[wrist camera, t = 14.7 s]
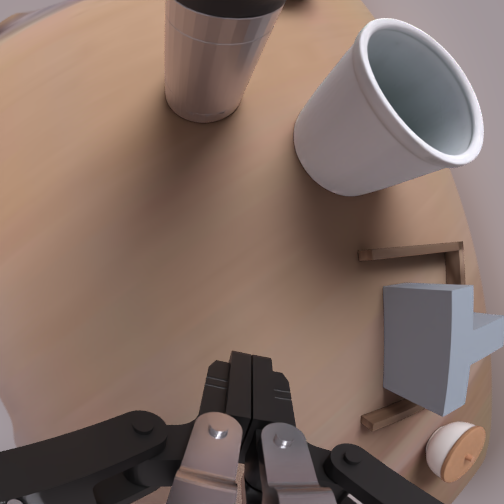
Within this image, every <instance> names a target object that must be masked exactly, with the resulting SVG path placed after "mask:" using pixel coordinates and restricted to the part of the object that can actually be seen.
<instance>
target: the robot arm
mask: <svg viewBox="0 0 504 504" xmlns="http://www.w3.org/2000/svg"><path fill="white" fill-rule="evenodd" d="M285 2H286V0H166V3H165V96H166V100H167V102H168V104H169V106H170V108H171V109H172V110H173V111H174V112H175V113H176V114H178V115H179V116H180V117H182V118H184V119H187V120H189V121H193V122H200V123H208V122H215V121H218V120H221V119H223V118H225V117H227V116H229V115H230V114H231V113H232V112H234V111H235V109H236V108H237V107H238V105H239V103H240V101H241V98H242V96H243V94H244V91H245V89H246V87H247V85H248V82H249V80H250V78H251V76H252V73H253V71H254V69H255V66H256V64H257V62H258V60H259V57H260V55H261V53H262V51H263V49H264V46H265V44H266V42H267V40H268V38H269V36H270V34H271V31H272V29H273V27H274V25H275V23H276V20H277V18H278V16H279V14H280V12H281V10H282V8H283V6H284V4H285ZM238 463H243V464H245V471H244V474H243V476H242V478H241V493H242V504H357V503H356V502H355V501H353V500H352V499H351V498H350V497H348V495H349V494H351V495H352V496H353V497H354V498H356V499H357V500H358V501H360V502H361V503H362V504H444V503H442V502H440V501H439V500H437V499H436V498H434V497H432V496H431V495H429V494H428V493H426V492H425V491H423V490H422V489H420V488H418V487H417V486H415V485H414V484H412V483H411V482H409V481H408V480H406V479H405V478H403V477H402V476H401V475H399V474H398V473H396V472H395V471H393V470H392V469H390V468H389V467H388V466H386V465H385V464H383V463H382V462H380V461H379V460H378V459H376V458H375V457H374V456H372V455H371V454H369V453H368V452H367V451H365V450H364V449H362V448H361V447H359V446H357V445H354V444H340V445H337V446H336V447H334V448H333V450H332V451H329V450H326V449H322V448H319V447H316V446H313V445H311V444H309V443H308V442H306V438H305V436H304V434H303V433H302V432H301V431H300V430H299V429H297V428H296V424H295V418H294V412H293V406H292V400H291V393H290V387H289V382H288V380H287V379H286V378H285V376H284V375H283V374H282V373H280V372H274V371H273V370H272V360H271V358H267V357H262V356H257V355H252V356H251V354H246V353H242V352H237V351H232V352H231V356H230V360H229V363H227V362H222V361H218V360H216V361H215V362H214V363H212V364H211V365H210V366H209V369H208V373H207V378H206V382H205V387H204V391H203V396H202V401H201V406H200V410H199V415H198V416H197V418H196V419H195V420H193V421H192V422H190V423H187V424H183V425H166V424H165V422H164V421H163V420H162V419H161V418H160V417H159V416H157V415H155V414H153V413H151V412H147V411H131V412H128V413H125V414H123V415H120V416H117V417H115V418H112V419H109V420H106V421H103V422H101V423H98V424H95V425H92V426H89V427H86V428H83V429H80V430H77V431H74V432H71V433H68V434H64V435H61V436H58V437H54V438H51V439H48V440H44V441H41V442H37V443H33V444H30V445H26V446H22V447H18V448H15V449H10V450H6V451H2V452H0V504H130V503H132V502H134V501H136V500H138V499H140V498H142V497H144V496H146V495H148V494H150V493H152V492H154V491H156V490H157V489H158V488H159V487H160V486H172V487H171V490H170V493H169V496H168V499H167V502H166V504H235V503H236V496H237V484H236V483H235V480H236V473H237V466H238Z"/></svg>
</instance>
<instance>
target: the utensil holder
mask: <svg viewBox="0 0 504 504" xmlns="http://www.w3.org/2000/svg"><path fill="white" fill-rule="evenodd" d="M483 134H484V128H483V120H482V114H481V110H480V106H479V103H478V100H477V98H476V95H475V92H474V90H473V88H472V86H471V84H470V82H469V81H468V79H467V77H466V76H465V74H464V72H463V71H462V69H461V68H460V66H459V65H458V64H457V63H456V61H455V60H454V59H453V58H452V56H451V55H450V54H449V53H448V52H447V51H446V50H445V49H444V48H443V47H442V46H441V45H440V44H439V43H437V41H435V40H434V39H433V38H431V37H430V36H429V35H427V34H426V33H425V32H423V31H421V30H420V29H418V28H416V27H415V26H413V25H410V24H408V23H406V22H403V21H400V20H396V19H390V18H380V19H376V20H373V21H371V22H369V23H368V24H367V25H366V26H365V27H364V28H363V29H362V30H361V31H360V32H359V34H358V35H357V37H356V39H355V42H354V44H353V45H352V46H351V47H350V49H349V50H348V51H347V52H346V53H345V55H344V56H343V57H342V58H341V60H340V61H339V62H338V63H337V65H336V66H335V67H334V68H333V70H332V71H331V72H330V73H329V74H328V76H327V77H326V78H325V79H324V81H323V82H322V83H321V84H320V86H319V87H318V88H317V90H316V91H315V92H314V94H313V95H312V96H311V98H310V99H309V101H308V102H307V103H306V105H305V106H304V108H303V109H302V111H301V112H300V114H299V116H298V118H297V120H296V123H295V127H294V145H295V150H296V153H297V156H298V158H299V160H300V162H301V164H302V166H303V167H304V169H305V170H306V172H307V173H308V174H309V175H310V176H311V178H312V179H313V180H314V181H316V182H317V183H318V184H319V185H320V186H322V187H323V188H325V189H327V190H329V191H331V192H333V193H336V194H339V195H343V196H359V195H363V194H367V193H371V192H374V191H378V190H381V189H384V188H387V187H390V186H393V185H396V184H399V183H402V182H405V181H408V180H411V179H414V178H417V177H420V176H423V175H426V174H429V173H432V172H435V171H438V170H441V169H444V168H456V167H460V166H463V165H466V164H468V163H470V162H472V161H473V160H474V159H475V158H476V157H477V156H478V154H479V152H480V150H481V147H482V143H483V136H484V135H483Z"/></svg>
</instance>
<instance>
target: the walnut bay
mask: <svg viewBox="0 0 504 504" xmlns="http://www.w3.org/2000/svg"><path fill="white" fill-rule="evenodd" d="M440 252H445V259H446V277H447V284H453V285H465V264H464V249H463V241H462V242H451V243H440V244H429V245H417V246H406V247H395V248H383V249H371V250H362V251H358V255H359V261H364V260H378V259H387V258H396V257H405V256H414V255H422V254H431V253H440ZM423 409H425V408H424V407H422V406H419V405H417V404H415V403H413V402H411V401H409V400H407V399H404V400H402V401H399V402H397V403H394V404H392V405H389V406H387V407H384V408H381V409H379V410H376V411H373V412H371V413H368V414H365V415H362V416H361V423H362V424H363V425H365V426H366V427H367V428H369V429H370V430H371V431H375V430H378V429H380V428H383V427H385V426H388V425H390V424H392V423H395V422H397V421H399V420H402V419H404V418H406V417H408V416H411V415H413V414H415V413H417V412H419V411H421V410H423Z"/></svg>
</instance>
